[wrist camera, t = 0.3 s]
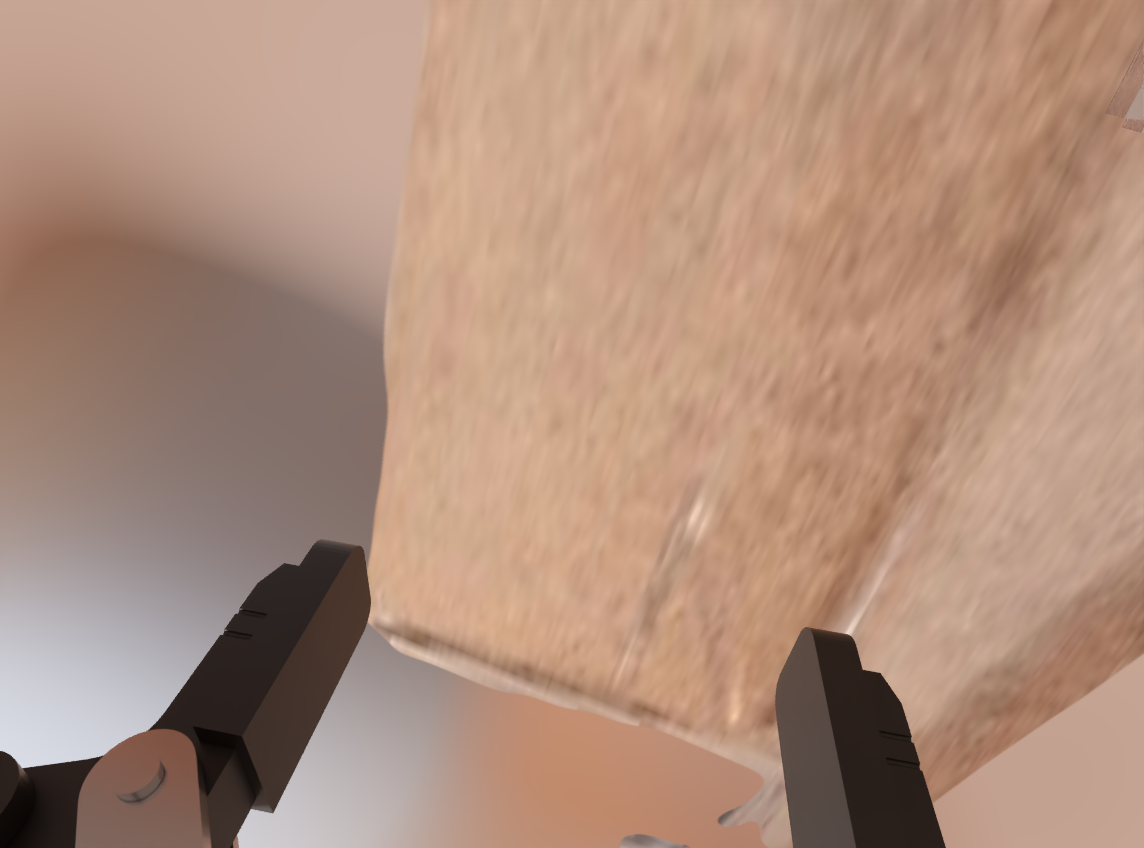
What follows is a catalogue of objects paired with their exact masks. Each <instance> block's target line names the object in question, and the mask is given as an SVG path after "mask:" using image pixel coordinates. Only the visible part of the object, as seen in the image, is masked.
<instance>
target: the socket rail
mask: <svg viewBox="0 0 1144 848" xmlns="http://www.w3.org/2000/svg"><path fill="white" fill-rule="evenodd" d="M1106 113H1107V114H1111V115H1114V116H1118V117H1122V118H1127V119H1126V121H1125V123H1124V125H1123V126H1122V127H1123V128H1127V129H1130V130H1133V131H1137V132H1140V133H1144V41H1143V43H1142V45H1141V47H1140V49H1139V50H1138V52H1137V54H1136V56H1135V58H1134V60H1133V62H1132V64H1131V66H1130V68H1129V70H1128V72H1127V74H1126V76H1125V78H1124V79H1123V81H1122V83H1121V85H1120V87H1119V89H1118V91H1117V93H1116V95H1115V97H1114V99H1113V101H1112V103H1111V105H1110V107H1109V109H1108V110H1107V112H1106Z"/></svg>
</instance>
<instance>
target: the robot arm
mask: <svg viewBox="0 0 1144 848" xmlns="http://www.w3.org/2000/svg"><path fill="white" fill-rule="evenodd" d="M370 606H371V597H370V590H369V583H368V576H367V569H366V561H365V555H364V550H363V548H362V547H361V546H357V545H351V544H345V543H340V542H334V541H329V540H319V541H317V542H316V543H315V544H314V545H313V546H312V548H311V549H310V551H309V552H308V554H307V555H306V557H305V558H304V560H303V561H302V563H301V564H300V566H296V565H291V564H285V563H284V564H283V565H281V566H280V567H279V568H277V569H276V570H275V571H273V572H272V573H271V574H269V575H268V576H267V577H265V578H264V579H263V580H261V581H260V582H259V583H258V584H257V585H256V587H255V588H254V589H253V590H252V592H251V593H250V595H249V596H248V597H247V599H246V600H245V602H244V603H243V604H242V606H241V607H240V610H239V613H238V614H235V615H234V617H233V618H232V620H231V621H230V622H229V624H228V625H227V627H226V628H225V631H224V634H223V635H220V636H219V638H218V639H217V640H216V642H215V643H214V645H213V646H212V647H211V649H210V650H209V652H208V653H207V654H206V656H205V657H204V659H203V660H202V661H201V663H200V664H199V666H198V667H197V668H196V670H195V671H194V673H193V674H192V675H191V677H190V678H189V680H188V681H187V682H186V684H185V685H184V687H183V688H182V689H181V691H180V692H179V693H178V695H177V696H176V697H175V699H174V700H173V702H172V703H171V704H170V706H169V707H168V709H167V710H166V711H165V713H164V714H163V715H162V716H161V718H160V719H159V720H158V721H157V722H156V723H155V724H154V725H153V726H152V727H151V728H150V729H149V730H148V731H146V732H143V733H139V734H137V735H134V736H132V737H130V738H128V739H126V740H125V741H123V742H121V743H119V744H118V745H116V746H115V747H114V748H112V749H111V750H110V751H109V752H107V753H106V754H105V755H104V756H101V757H96V758H91V759H87V760H79V761H72V762H65V763H58V764H50V765H44V766H36V767H29V768H21V766H20V765H19V764H18V763H17V762H16V760H15V759H14V758H13V757H12V756H11V755H9V754H7V753H5V752H3V751H0V848H239V845H238V838H237V834H238V832H239V830H240V828H241V826H242V824H243V823H244V821H245V819H246V817H247V815H248V813H249V811H250V809H255V810H260V811H264V812H269V813H273V812H274V810H275V808H276V806H277V804H278V802H279V800H280V798H281V796H282V794H283V792H284V790H285V788H286V786H287V784H288V782H289V780H290V778H291V776H292V774H293V772H294V770H295V768H296V766H297V764H298V762H299V760H300V758H301V756H302V754H303V752H304V750H305V748H306V746H307V744H308V742H309V740H310V738H311V736H312V734H313V732H314V730H315V728H316V726H317V724H318V722H319V720H320V718H321V716H322V714H323V712H324V710H325V708H326V706H327V704H328V702H329V700H330V698H331V696H332V694H333V692H334V690H335V688H336V686H337V684H338V682H339V680H340V678H341V676H342V674H343V672H344V670H345V668H346V666H347V664H348V662H349V660H350V658H351V656H352V654H353V652H354V650H355V648H356V646H357V644H358V642H359V640H360V638H361V636H362V634H363V632H364V630H365V627H366V624H367V621H368V617H369V613H370ZM775 705H776V717H777V725H778V732H779V740H780V748H781V756H782V763H783V771H784V779H785V787H786V794H787V802H788V810H789V818H790V826H791V833H792V841H793V848H946V847H945V843H944V841H943V837H942V834H941V831H940V827H939V824H938V821H937V817H936V814H935V811H934V808H933V804H932V801H931V798H930V795H929V791H928V788H927V785H926V782H925V778H924V775H923V772H922V771H920V768H919V765H920V762H919V759H918V755H917V752H916V749H915V746H914V743H912V742H911V737H912V736H911V733H910V729H909V726H908V723H907V720H906V716H905V713H904V710H903V707H902V704H901V702H900V701H899V699H898V698H897V696H896V695H895V693H894V692H893V691H892V689H891V688H890V686H889V685H888V683H887V682H886V680H885V679H884V678H883V676H882V675H881V673H877V672H872V671H866V670H863V669H862V666H861V662H860V658H859V654H858V651H857V647H856V644H855V641H854V639H853V638H852V637H851V636H850V635H848V634H842V633H837V632H831V631H825V630H820V629H814V628H808V627H805V628H803V630H802V631H801V633H800V635H799V637H798V639H797V641H796V643H795V645H794V647H793V649H792V651H791V653H790V655H789V657H788V659H787V661H786V663H785V665H784V667H783V669H782V671H781V674H780V676H779V679H778V683H777V688H776V701H775Z"/></svg>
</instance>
